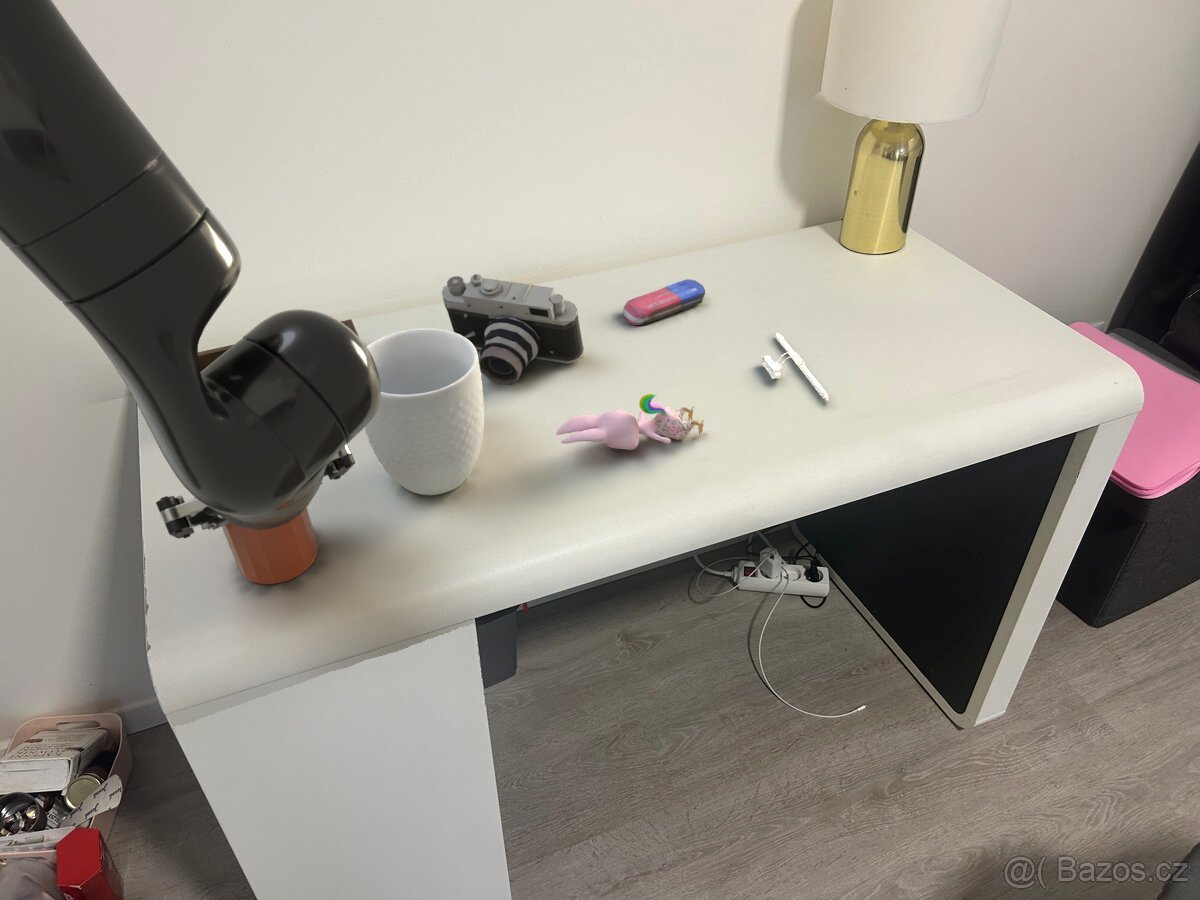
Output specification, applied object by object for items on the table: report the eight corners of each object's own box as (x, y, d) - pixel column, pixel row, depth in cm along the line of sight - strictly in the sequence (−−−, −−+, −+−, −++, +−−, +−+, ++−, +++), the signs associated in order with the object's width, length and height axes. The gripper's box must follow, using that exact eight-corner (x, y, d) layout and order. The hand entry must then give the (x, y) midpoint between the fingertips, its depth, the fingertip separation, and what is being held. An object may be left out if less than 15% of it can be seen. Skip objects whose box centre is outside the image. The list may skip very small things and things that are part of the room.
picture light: (830, 402, 90) (834, 386, 89) (792, 408, 90) (795, 392, 88) (778, 335, 101) (780, 320, 100) (744, 340, 100) (746, 325, 99)
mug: (429, 408, 90) (411, 299, 82) (525, 428, 87) (516, 317, 79) (354, 498, 79) (325, 382, 71) (461, 523, 76) (442, 407, 68)
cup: (243, 594, 70) (211, 514, 64) (235, 542, 75) (204, 463, 69) (324, 569, 72) (300, 490, 66) (311, 520, 77) (287, 443, 71)
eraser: (636, 329, 102) (636, 316, 101) (617, 314, 105) (617, 302, 104) (709, 301, 107) (710, 289, 106) (690, 288, 110) (690, 276, 108)
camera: (435, 381, 97) (412, 319, 89) (462, 327, 101) (443, 264, 93) (565, 403, 93) (553, 341, 85) (587, 346, 98) (578, 283, 90)
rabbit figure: (680, 421, 90) (547, 433, 85) (692, 373, 87) (553, 383, 81) (706, 456, 86) (566, 471, 80) (719, 407, 82) (574, 419, 77)
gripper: (344, 379, 59) (322, 428, 74) (124, 453, 53) (148, 490, 68) (387, 478, 59) (356, 507, 74) (172, 564, 53) (185, 576, 68)
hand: (256, 499), depth 71 cm, fingers closed on cup, 6 cm apart
